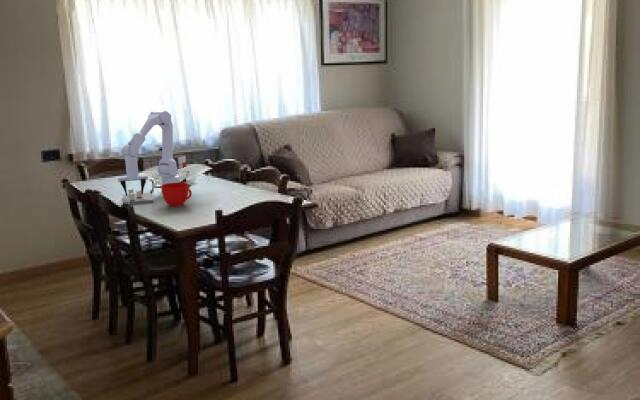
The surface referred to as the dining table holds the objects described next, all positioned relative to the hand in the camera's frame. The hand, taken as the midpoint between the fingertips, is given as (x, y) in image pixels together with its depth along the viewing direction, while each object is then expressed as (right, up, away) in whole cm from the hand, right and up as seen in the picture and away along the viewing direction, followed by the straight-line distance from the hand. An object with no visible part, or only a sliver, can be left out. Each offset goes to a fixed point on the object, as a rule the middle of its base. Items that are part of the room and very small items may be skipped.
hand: (134, 194), depth 307 cm
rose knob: (+2, -1, +1) cm, 3 cm away
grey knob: (-3, 0, +5) cm, 6 cm away
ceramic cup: (+26, -6, -13) cm, 29 cm away
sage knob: (+1, -2, -6) cm, 6 cm away
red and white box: (+13, +8, +49) cm, 51 cm away
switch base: (+2, -3, +1) cm, 3 cm away
